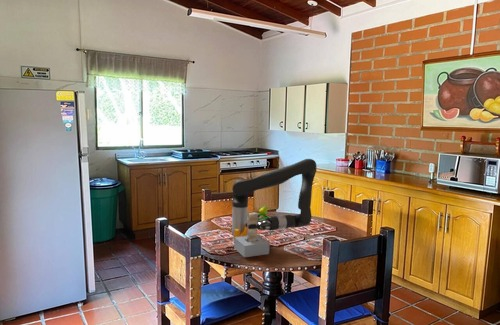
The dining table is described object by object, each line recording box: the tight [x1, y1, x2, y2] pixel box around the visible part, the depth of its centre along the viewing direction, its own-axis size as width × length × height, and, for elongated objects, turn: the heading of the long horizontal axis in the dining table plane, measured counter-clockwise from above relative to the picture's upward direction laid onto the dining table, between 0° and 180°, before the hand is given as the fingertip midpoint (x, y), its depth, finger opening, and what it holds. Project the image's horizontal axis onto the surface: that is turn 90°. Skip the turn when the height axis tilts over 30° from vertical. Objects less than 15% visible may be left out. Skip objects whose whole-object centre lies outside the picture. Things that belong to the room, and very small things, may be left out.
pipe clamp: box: [233, 226, 247, 238], centre depth 208 cm, size 12×4×6 cm, turn 145°
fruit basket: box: [256, 205, 269, 220], centre depth 242 cm, size 11×9×11 cm
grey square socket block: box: [233, 234, 270, 258], centre depth 188 cm, size 14×14×6 cm
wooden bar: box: [247, 211, 258, 242], centre depth 187 cm, size 3×4×16 cm
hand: (247, 226), depth 186 cm, fingers closed on wooden bar, 3 cm apart
